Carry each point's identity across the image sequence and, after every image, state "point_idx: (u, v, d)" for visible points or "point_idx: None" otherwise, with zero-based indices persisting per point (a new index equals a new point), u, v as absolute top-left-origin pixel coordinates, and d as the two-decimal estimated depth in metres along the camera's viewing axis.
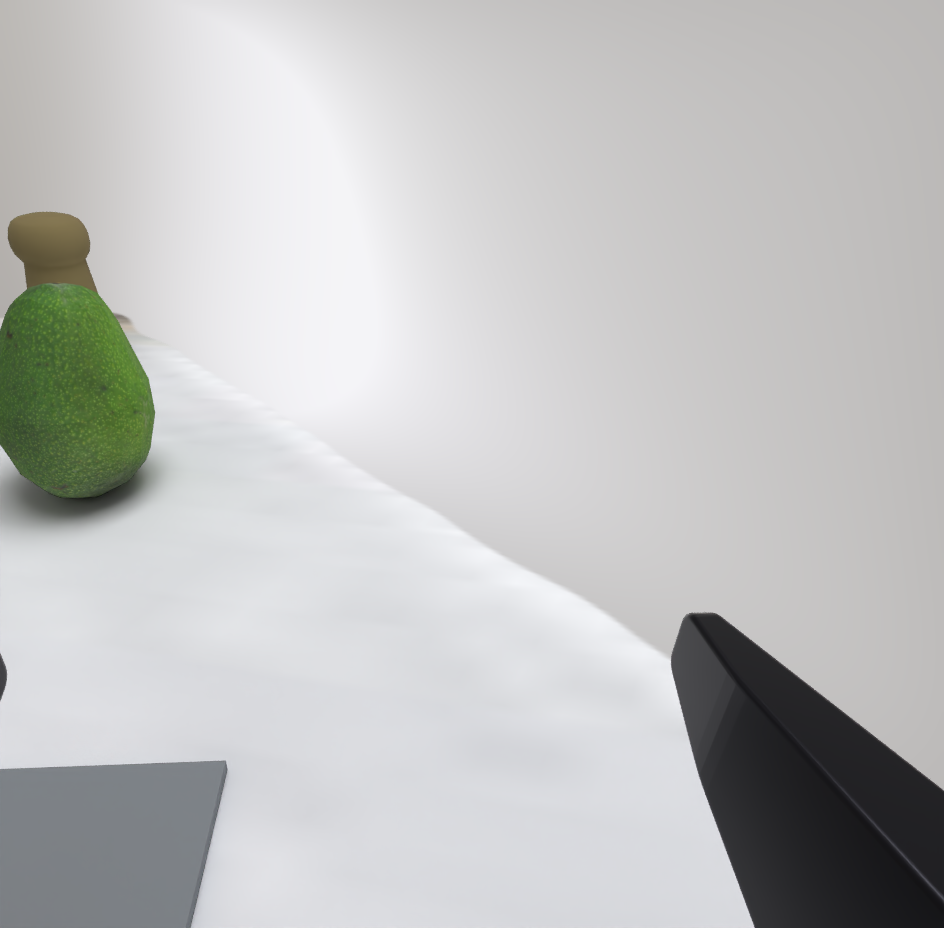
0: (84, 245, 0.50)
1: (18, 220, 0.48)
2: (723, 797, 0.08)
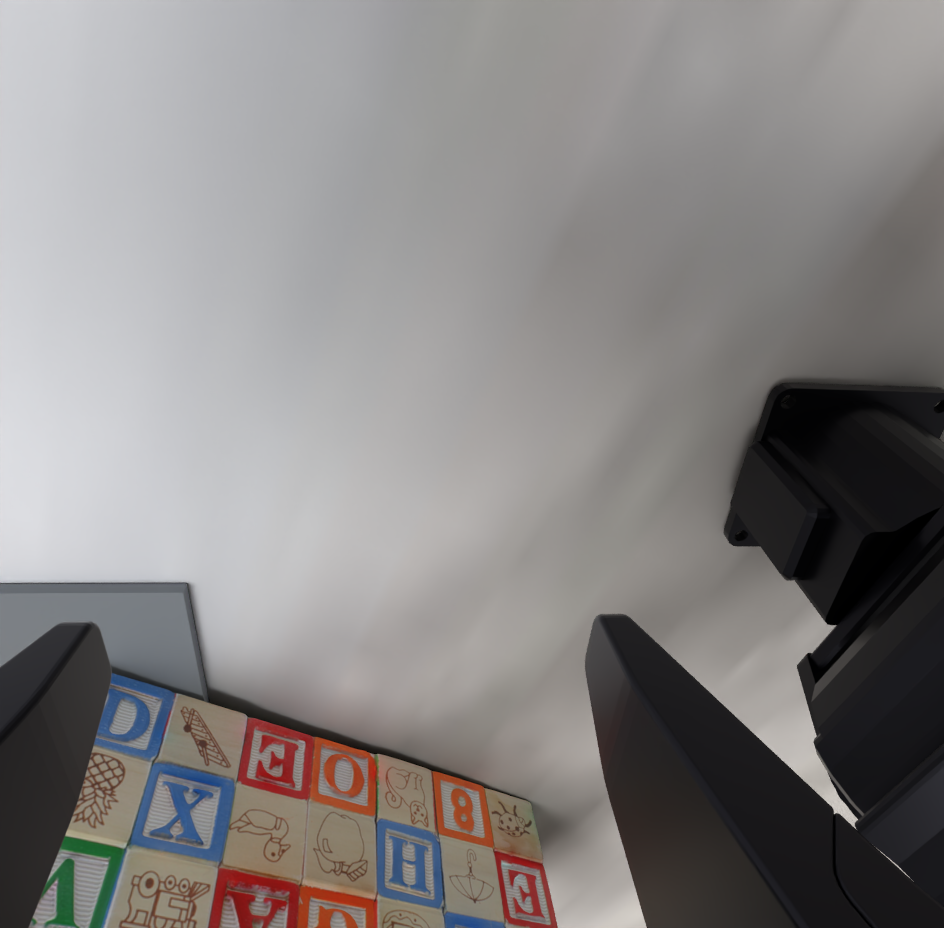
0: None
1: None
2: (623, 802, 0.08)
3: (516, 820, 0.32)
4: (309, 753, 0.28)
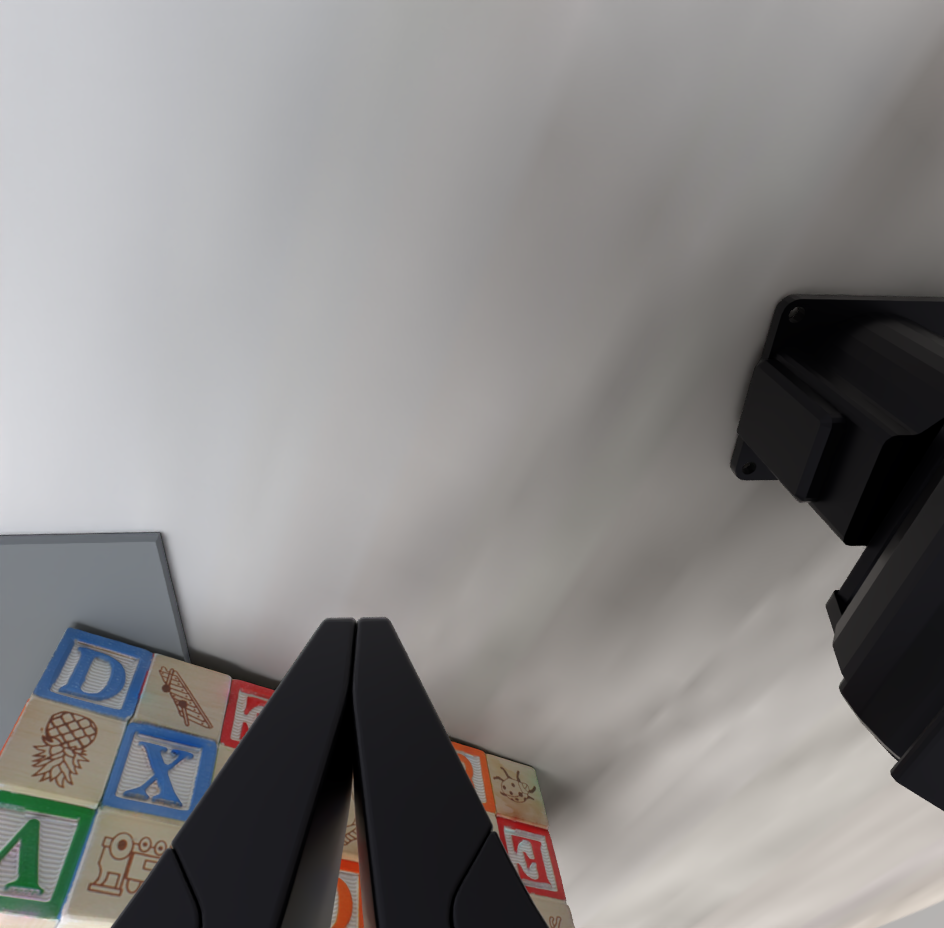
0: None
1: None
2: (356, 815, 0.08)
3: (519, 786, 0.31)
4: None
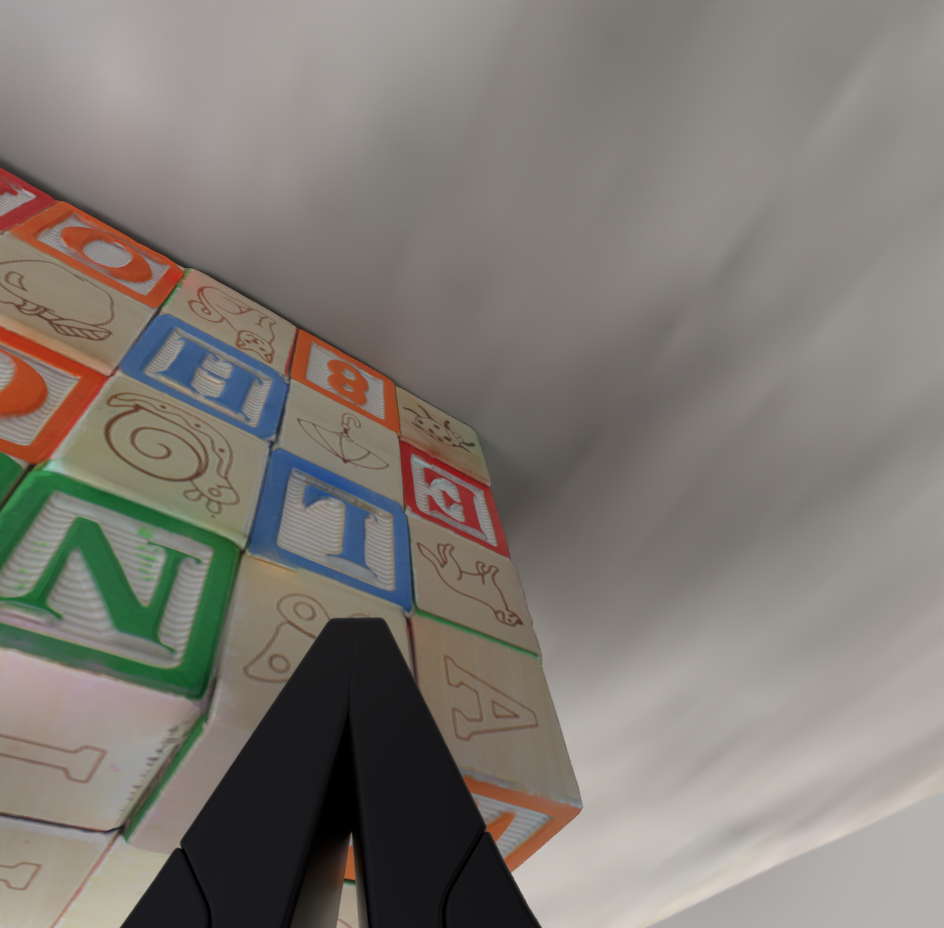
0: None
1: None
2: (351, 815, 0.08)
3: (447, 432, 0.19)
4: (38, 206, 0.15)
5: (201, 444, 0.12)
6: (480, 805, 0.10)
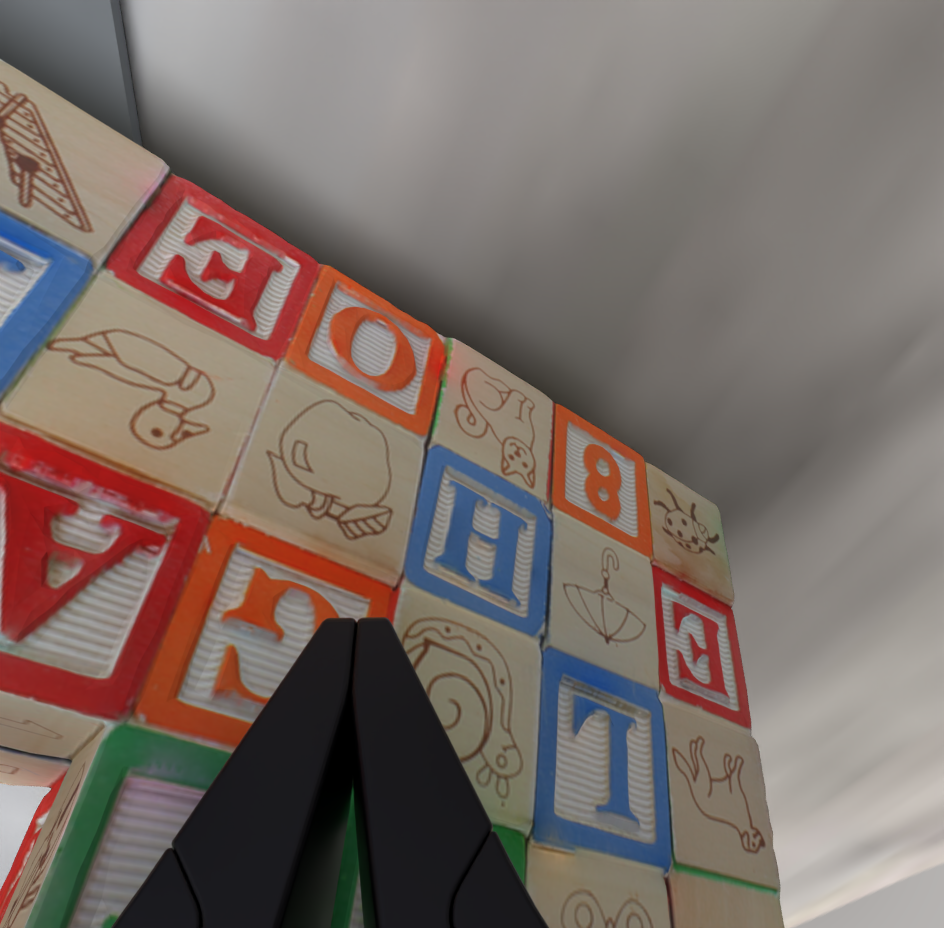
0: None
1: None
2: (356, 814, 0.08)
3: (694, 527, 0.17)
4: (304, 286, 0.13)
5: (484, 681, 0.11)
6: None
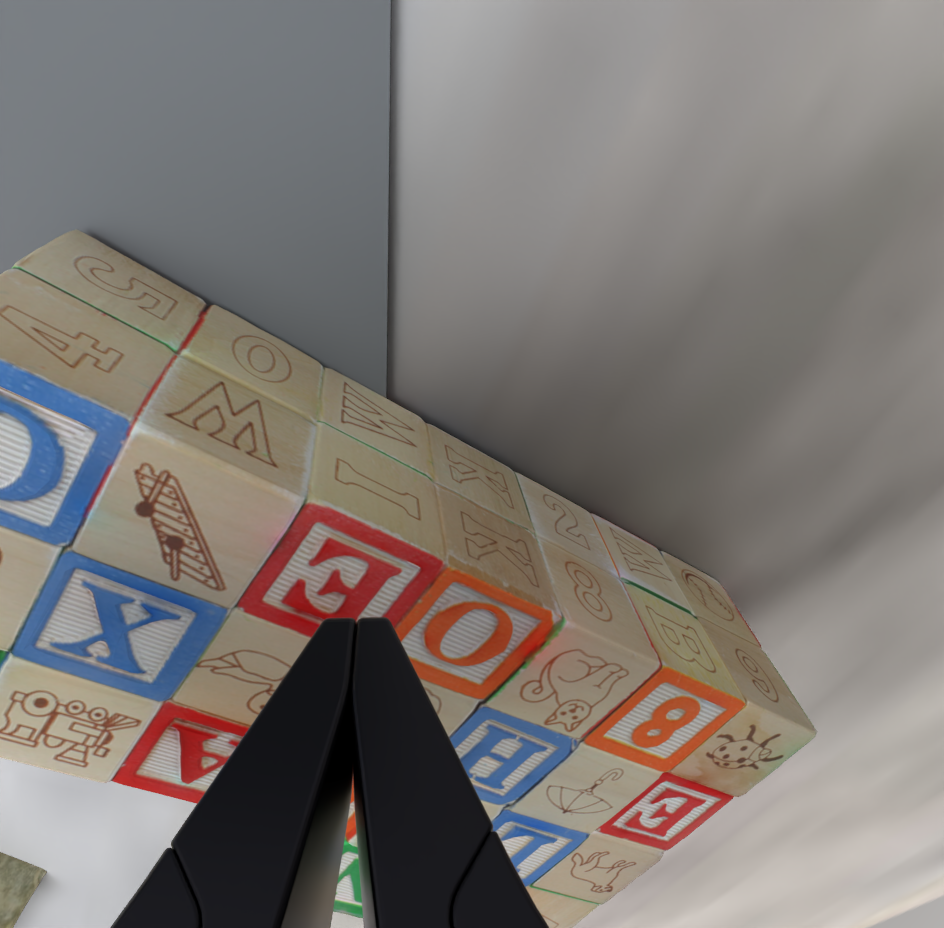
0: None
1: None
2: (356, 814, 0.08)
3: (754, 751, 0.18)
4: (416, 590, 0.13)
5: None
6: None
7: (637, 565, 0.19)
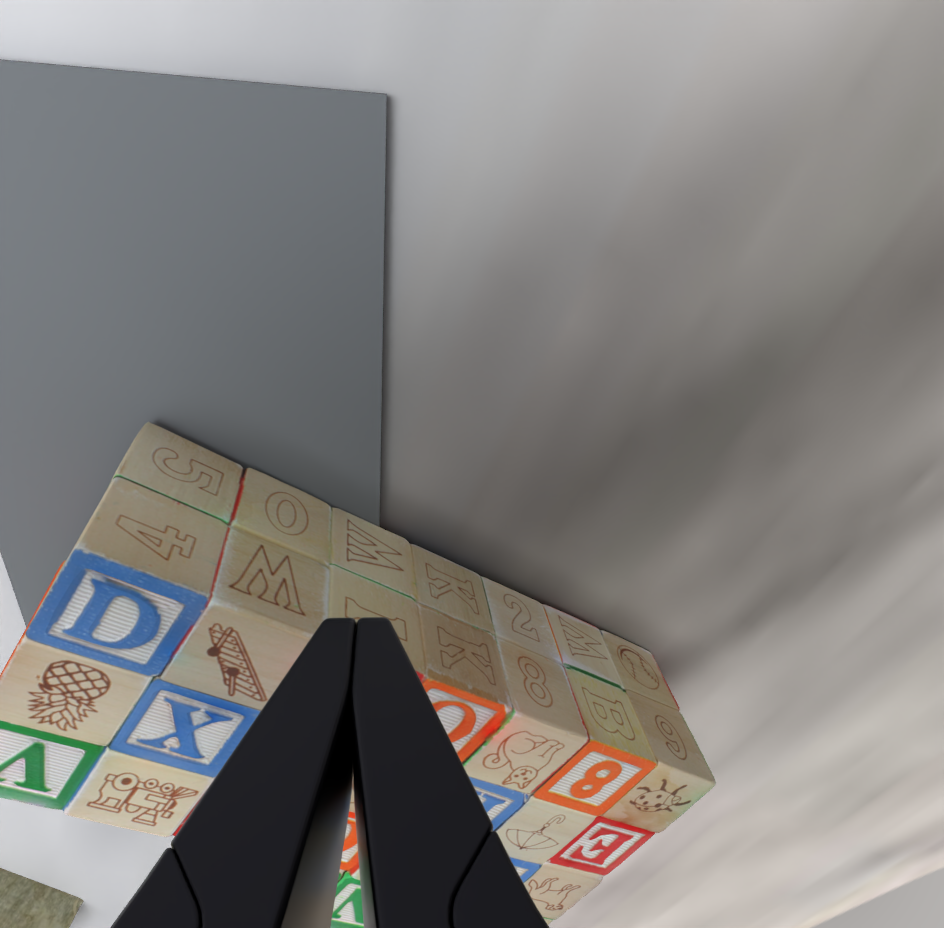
0: None
1: None
2: (356, 815, 0.08)
3: (667, 798, 0.23)
4: None
5: None
6: None
7: (578, 649, 0.25)
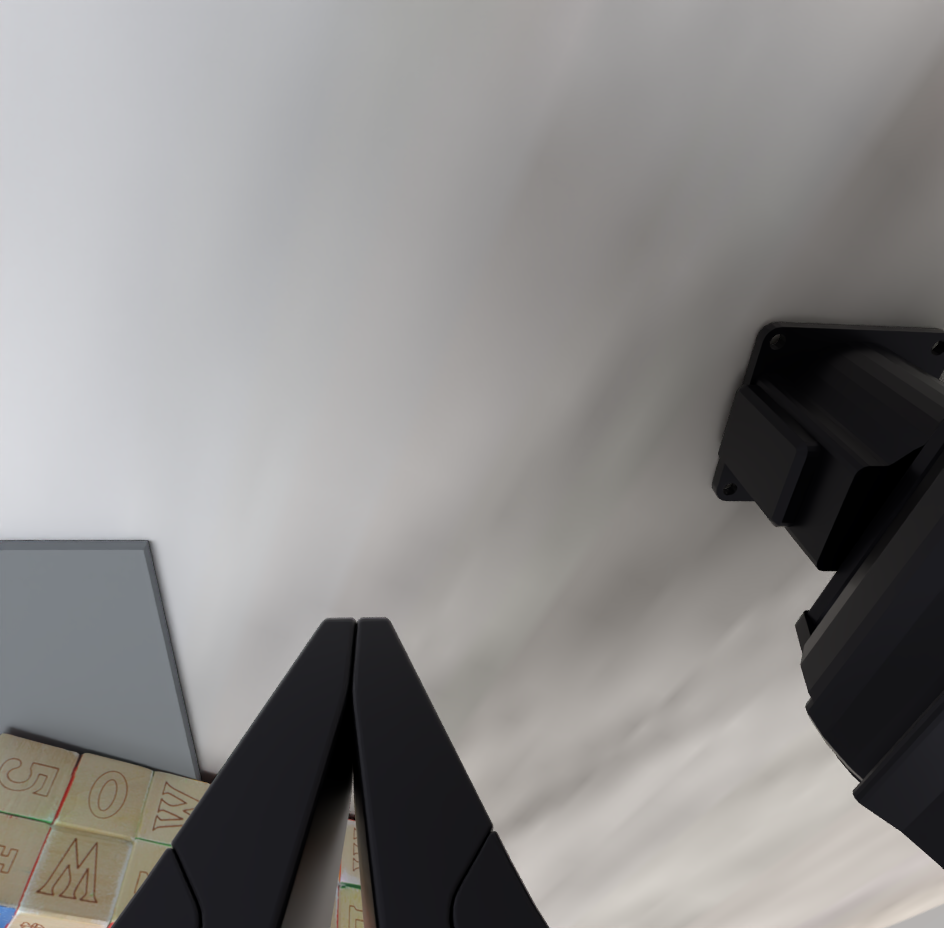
0: None
1: None
2: (356, 815, 0.08)
3: None
4: None
5: None
6: None
7: None
